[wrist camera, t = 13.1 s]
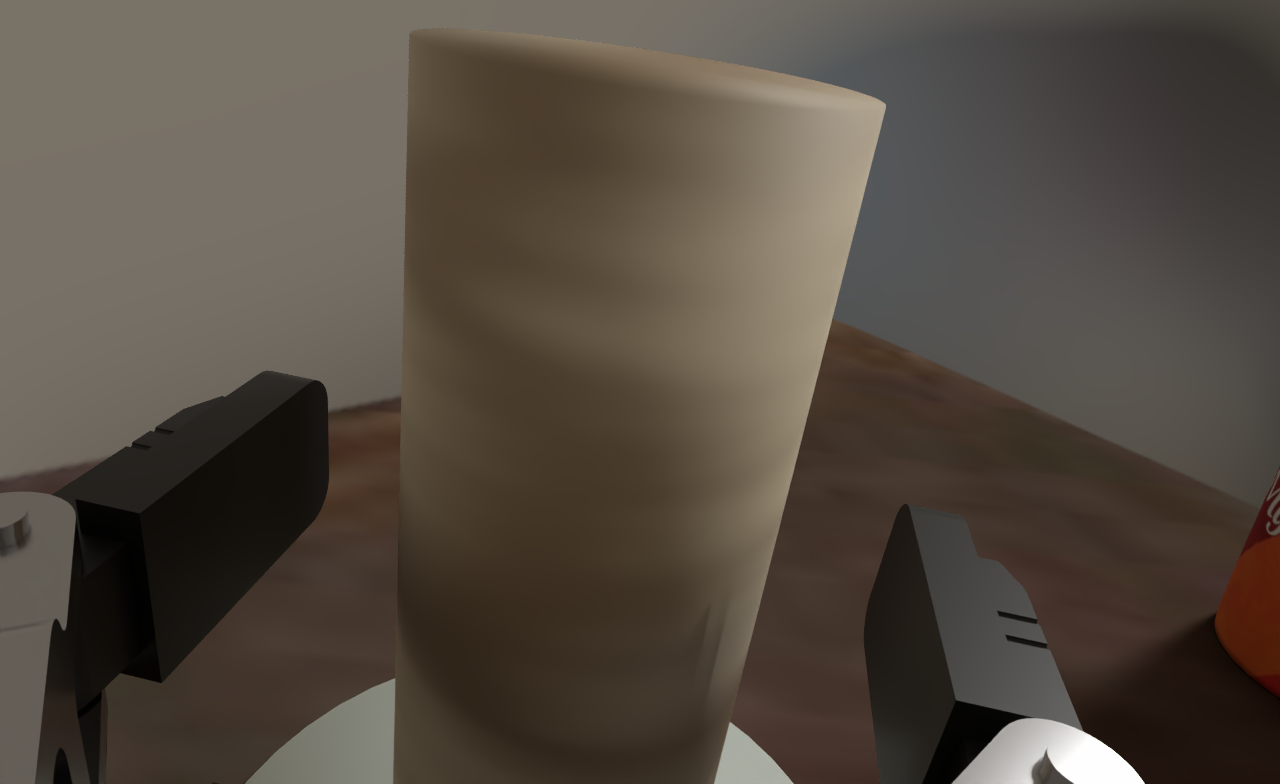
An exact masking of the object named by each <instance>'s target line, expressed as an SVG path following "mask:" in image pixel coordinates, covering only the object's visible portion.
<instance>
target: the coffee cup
mask: <svg viewBox="0 0 1280 784" xmlns="http://www.w3.org/2000/svg"><path fill="white" fill-rule="evenodd" d="M1214 627H1215V632H1216V635H1217V638H1218V640H1219V642H1220V643H1221V645H1222V647H1223V648H1224V649H1225V651H1226V652H1227V654H1228V655H1229V656H1230V657H1231V658H1232V659H1233V661H1234V662H1235V663H1236V664H1237V665H1238V666H1239V667H1240V668H1241V669H1242V670H1243V671H1244V672H1246V673H1247V674H1248V675H1249V676H1250V677H1251V678H1252V679H1254V680H1255V681H1256V682H1257V683H1259V684H1260V685H1261V686H1262V687H1264V688H1265V689H1266V690H1268V691H1269V692H1271V693H1272V694H1274V695H1275V696H1276V697H1278V698H1279V699H1280V467H1279V470H1278V472H1277V474H1276V476H1275V478H1274V481H1273V483H1272V485H1271V487H1270V490H1269V492H1268V494H1267V496H1266V498H1265V500H1264V503H1263V505H1262V507H1261V509H1260V512H1259V514H1258V516H1257V518H1256V521H1255V523H1254V525H1253V528H1252V530H1251V532H1250V534H1249V537H1248V539H1247V541H1246V543H1245V546H1244V548H1243V550H1242V552H1241V555H1240V557H1239V559H1238V561H1237V564H1236V566H1235V568H1234V571H1233V573H1232V576H1231V578H1230V580H1229V583H1228V585H1227V587H1226V590H1225V592H1224V595H1223V597H1222V600H1221V603H1220V605H1219V608H1218V611H1217V614H1216V618H1215V623H1214Z"/></svg>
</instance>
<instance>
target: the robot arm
mask: <svg viewBox="0 0 1280 784" xmlns="http://www.w3.org/2000/svg"><path fill="white" fill-rule="evenodd" d="M328 482H329V450H328V398H327V392H326V389H325V387H324V385H323V384H322V383H321V382H320V381H317V380H312V379H307V378H302V377H298V376H293V375H288V374H283V373H278V372H273V371H264V372H262V373H260V374H258V375H257V376H255V377H254V378H252V379H251V380H250V381H248V382H247V383H245V384H244V385H242V386H241V387H239V388H238V389H236V390H235V391H234V392H232V393H231V394H229V395H227V396H226V397H223V396H221V397H218V398H215V399H212V400H209V401H206V402H203V403H200V404H197V405H194V406H192V407H188V408H185V409H183V410H181V411H180V412H179V413H177V414H176V415H174V416H172V417H171V418H169V419H168V420H166V421H164V422H163V423H162V424H160V425H159V426H157V427H156V429H155V431H154V432H152V431H149V432H148V433H146V434H145V435H143V436H142V437H140V438H138V439H137V440H135V441H134V442H133V443H132V446H131V447H125V448H123V449H122V450H120V451H118V452H117V453H115V454H114V455H112V456H111V457H109V458H108V459H106V460H105V461H103V462H102V463H100V464H99V465H97V466H95V467H94V468H92V469H91V470H89V471H88V472H86V473H85V474H83V475H82V476H80V477H79V478H77V479H76V480H74V481H72V482H71V483H69V484H68V485H66V486H65V487H63V488H62V489H60V490H59V491H57V492H56V493H54V494H53V495H49V494H44V493H36V492H9V493H0V784H106V757H107V718H108V706H107V698H106V693H105V687H106V686H107V685H108V684H109V683H110V682H111V681H112V680H113V679H114V678H115V677H116V676H117V675H118V674H119V673H122V674H126V675H130V676H134V677H139V678H143V679H147V680H151V681H155V682H159V683H162V682H163V681H164V680H165V679H166V678H167V677H168V676H169V675H170V674H171V673H172V671H173V670H174V669H175V668H176V667H177V666H178V665H179V664H180V663H181V662H182V661H183V660H184V659H185V658H186V657H187V655H188V654H189V653H190V652H191V651H192V650H193V649H194V648H195V647H196V646H197V645H198V644H199V643H200V642H201V641H202V639H203V638H204V637H205V636H206V635H207V634H208V633H209V632H210V631H211V630H212V629H213V628H214V627H215V626H216V625H217V624H218V622H219V621H220V620H221V619H222V618H223V617H224V616H225V615H226V614H227V613H228V612H229V611H230V610H231V609H232V608H233V606H234V605H235V604H236V603H237V602H238V601H239V600H240V599H241V598H242V597H243V596H244V595H245V594H246V593H247V592H248V590H249V589H250V588H251V587H252V586H253V585H254V584H255V583H256V582H257V581H258V580H259V579H260V578H261V577H262V576H263V574H264V573H265V572H266V571H267V570H268V569H269V568H270V567H271V566H272V565H273V564H274V563H275V562H276V561H277V560H278V559H279V557H280V556H281V555H282V554H283V553H284V552H285V551H286V550H287V549H288V548H289V547H290V546H291V545H292V544H293V543H294V541H295V540H296V539H297V538H298V537H299V536H300V535H301V534H302V533H303V532H304V531H305V530H306V529H307V528H308V527H309V525H310V524H311V523H312V522H313V521H314V520H315V518H316V517H317V515H318V514H319V512H320V510H321V508H322V506H323V503H324V500H325V497H326V494H327V489H328ZM864 649H865V657H866V666H867V674H868V683H869V691H870V700H871V708H872V717H873V725H874V734H875V742H876V751H877V759H878V768H879V776H880V784H1144V782H1143V781H1142V779H1141V778H1140V777H1139V776H1138V774H1137V773H1136V772H1135V771H1134V769H1133V768H1132V767H1131V766H1130V765H1129V764H1128V763H1127V762H1126V761H1125V760H1124V759H1123V758H1122V757H1120V756H1119V755H1118V754H1117V753H1116V752H1114V751H1113V750H1112V749H1111V748H1109V747H1108V746H1106V745H1105V744H1104V743H1102V742H1101V741H1099V740H1097V739H1096V738H1094V737H1092V736H1091V735H1089V734H1087V733H1085V732H1083V730H1082V727H1081V725H1080V722H1079V720H1078V717H1077V715H1076V712H1075V710H1074V708H1073V705H1072V703H1071V700H1070V698H1069V695H1068V693H1067V690H1066V688H1065V686H1064V683H1063V681H1062V678H1061V676H1060V673H1059V671H1058V668H1057V666H1056V664H1055V661H1054V659H1053V656H1052V654H1051V651H1050V650H1047V641H1046V639H1045V637H1044V634H1043V632H1042V629H1041V627H1040V625H1037V617H1036V615H1035V612H1034V610H1033V607H1032V605H1031V602H1030V600H1029V597H1028V595H1027V593H1026V590H1025V589H1024V588H1023V587H1022V586H1021V585H1020V584H1019V583H1018V582H1017V580H1016V579H1015V578H1014V577H1013V576H1012V575H1011V574H1010V573H1009V572H1008V571H1007V570H1006V569H1005V568H1004V567H1003V566H1002V564H1001V563H1000V562H999V561H994V560H989V559H985V558H980V557H978V555H977V552H976V549H975V546H974V543H973V540H972V537H971V535H970V532H969V529H968V526H967V523H966V520H965V518H964V517H963V516H962V515H958V514H953V513H948V512H943V511H938V510H934V509H929V508H924V507H919V506H914V505H909V504H904V505H903V506H902V507H901V508H900V510H899V512H898V514H897V516H896V519H895V522H894V525H893V528H892V531H891V534H890V537H889V540H888V543H887V546H886V549H885V552H884V555H883V558H882V562H881V565H880V568H879V571H878V574H877V577H876V580H875V583H874V586H873V589H872V592H871V595H870V599H869V603H868V607H867V612H866V618H865V627H864ZM212 784H218V783H214V782H213V783H212Z"/></svg>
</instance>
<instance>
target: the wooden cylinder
mask: <svg viewBox="0 0 1280 784" xmlns="http://www.w3.org/2000/svg"><path fill="white" fill-rule="evenodd" d="M885 108H886V105H885V103H883V102H881V101H880V100H878V99H876V98H873V97H871V96H868V95H865V94H862V93H859V92H856V91H852V90H849V89H845V88H841V87H838V86H834V85H830V84H826V83H822V82H818V81H814V80H810V79H805V78H801V77H796V76H792V75H787V74H782V73H777V72H772V71H767V70H762V69H757V68H752V67H747V66H742V65H736V64H731V63H725V62H719V61H714V60H708V59H703V58H697V57H691V56H685V55H679V54H672V53H666V52H659V51H653V50H647V49H640V48H633V47H626V46H619V45H612V44H605V43H597V42H590V41H582V40H574V39H565V38H557V37H549V36H540V35H531V34H521V33H510V32H499V31H485V30H471V29H443V28H441V29H440V28H438V29H419V30H415V31H412V32H411V33H410V34H409V79H408V124H407V125H408V126H407V170H406V215H405V217H406V218H405V260H404V306H403V308H404V310H403V352H402V396H401V442H400V487H399V533H398V578H397V623H396V669H395V714H394V760H393V784H714V782H715V778H716V774H717V770H718V766H719V762H720V758H721V754H722V751H723V747H724V743H725V739H726V735H727V731H728V727H729V723H730V719H731V715H732V711H733V707H734V703H735V699H736V695H737V691H738V687H739V684H740V680H741V676H742V672H743V668H744V664H745V660H746V656H747V652H748V648H749V644H750V640H751V636H752V632H753V628H754V624H755V621H756V617H757V613H758V609H759V605H760V601H761V597H762V593H763V589H764V585H765V581H766V577H767V573H768V569H769V565H770V561H771V558H772V554H773V550H774V546H775V542H776V538H777V534H778V530H779V526H780V522H781V518H782V514H783V510H784V506H785V502H786V498H787V494H788V491H789V487H790V483H791V479H792V475H793V471H794V467H795V463H796V459H797V455H798V451H799V447H800V443H801V439H802V435H803V431H804V428H805V424H806V420H807V416H808V412H809V408H810V404H811V400H812V396H813V392H814V388H815V384H816V380H817V376H818V372H819V368H820V365H821V361H822V357H823V353H824V349H825V345H826V341H827V337H828V333H829V329H830V325H831V321H832V317H833V313H834V309H835V305H836V301H837V298H838V294H839V289H840V286H841V282H842V278H843V274H844V270H845V266H846V262H847V257H848V254H849V250H850V246H851V242H852V238H853V235H854V231H855V227H856V223H857V219H858V215H859V211H860V207H861V203H862V199H863V195H864V191H865V187H866V183H867V179H868V175H869V171H870V168H871V164H872V160H873V155H874V152H875V148H876V144H877V140H878V136H879V132H880V128H881V124H882V120H883V116H884V112H885Z"/></svg>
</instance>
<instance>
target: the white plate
mask: <svg viewBox="0 0 1280 784" xmlns="http://www.w3.org/2000/svg"><path fill="white" fill-rule="evenodd" d="M394 714H395V679H392V680H390V681H387V682H385V683H383V684H380V685H378V686H375V687H373V688H371V689H369V690H367V691H365V692H363V693H361V694H359V695H357V696H355V697H354V698H352V699H350V700H348V701H346V702H344V703H342V704H340V705H339V706H337V707H336V708H334V709H332V710H331V711H329V712H328V713H326V714H325V715H323V716H322V717H320V718H319V719H317V720H316V721H314V722H313V723H311V724H310V725H308V726H307V727H306V728H304V729H303V730H302V731H301V732H300V733H298V734H297V735H296V736H295V737H293V738H292V739H291V740H290V741H289V742H287V743H286V744H285V745H284V746H283V747H281V748H280V749H279V750H278V751H276V752H275V753H274V754H273V755H272V756H271V757H270V759H269V760H268V761H267V762H266V763H265V764H264V765H263V766H262V767H261V768H260V769H259V770H258V771H257V772H256V773H255V774H254V775H253V776H252V777H251V778H250V779H249V780H248V781H247V782H246V783H245V784H393V760H394ZM714 784H793V782H792V781H791V780H790V779H789V778H788V777H787V775H786V774H785V773H784V772H783V771H782V770H781V768H780V767H779V766H778V765H777V764H776V763H775V761H774V760H773V759H772V758H771V757H769V756H768V755H767V754H766V753H765V752H764V751H763V750H762V749H761V748H760V747H759V746H758V745H757V744H756V743H755V742H754V741H753V740H752V739H751V738H749V737H748V736H747V735H746V734H745V733H743V732H742V731H741V730H739V729H738V728H737V727H736V726H734V725H733V724H732V723H729V727H728V731H727V735H726V739H725V743H724V747H723V751H722V754H721V758H720V762H719V766H718V770H717V774H716V778H715V782H714Z"/></svg>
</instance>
